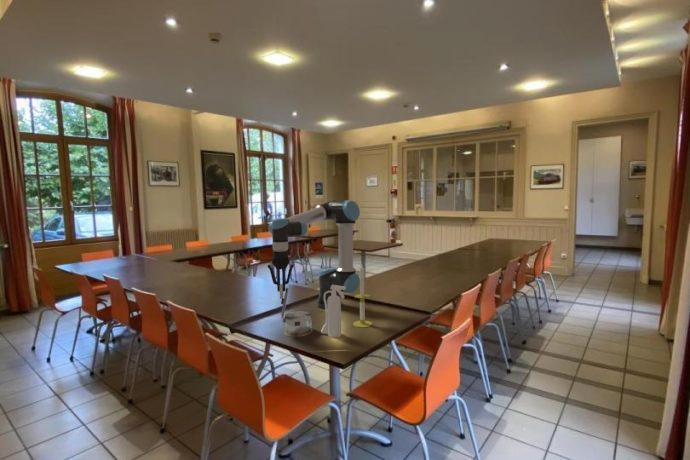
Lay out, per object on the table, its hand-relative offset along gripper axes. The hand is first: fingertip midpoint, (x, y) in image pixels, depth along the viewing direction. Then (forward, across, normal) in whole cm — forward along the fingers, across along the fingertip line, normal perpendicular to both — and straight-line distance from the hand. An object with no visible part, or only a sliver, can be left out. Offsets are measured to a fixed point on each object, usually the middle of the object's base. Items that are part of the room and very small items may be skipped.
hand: (281, 297), depth 177 cm
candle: (+17, -41, -8) cm, 45 cm away
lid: (+3, -2, 0) cm, 3 cm away
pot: (+17, -8, 0) cm, 19 cm away
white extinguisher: (+18, -25, +7) cm, 31 cm away
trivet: (+18, -8, 0) cm, 19 cm away
